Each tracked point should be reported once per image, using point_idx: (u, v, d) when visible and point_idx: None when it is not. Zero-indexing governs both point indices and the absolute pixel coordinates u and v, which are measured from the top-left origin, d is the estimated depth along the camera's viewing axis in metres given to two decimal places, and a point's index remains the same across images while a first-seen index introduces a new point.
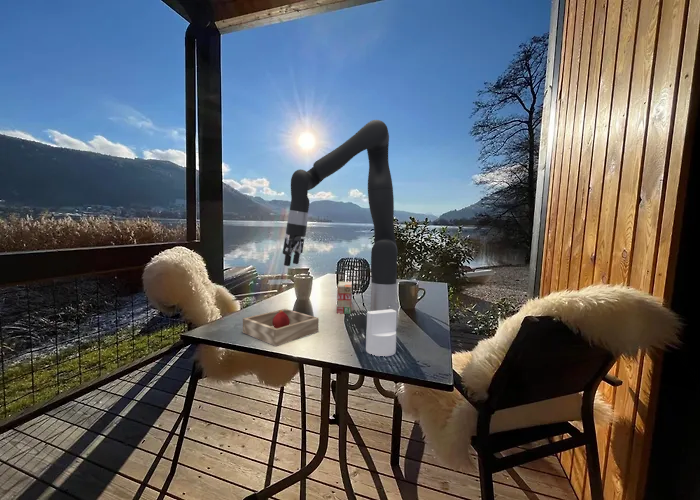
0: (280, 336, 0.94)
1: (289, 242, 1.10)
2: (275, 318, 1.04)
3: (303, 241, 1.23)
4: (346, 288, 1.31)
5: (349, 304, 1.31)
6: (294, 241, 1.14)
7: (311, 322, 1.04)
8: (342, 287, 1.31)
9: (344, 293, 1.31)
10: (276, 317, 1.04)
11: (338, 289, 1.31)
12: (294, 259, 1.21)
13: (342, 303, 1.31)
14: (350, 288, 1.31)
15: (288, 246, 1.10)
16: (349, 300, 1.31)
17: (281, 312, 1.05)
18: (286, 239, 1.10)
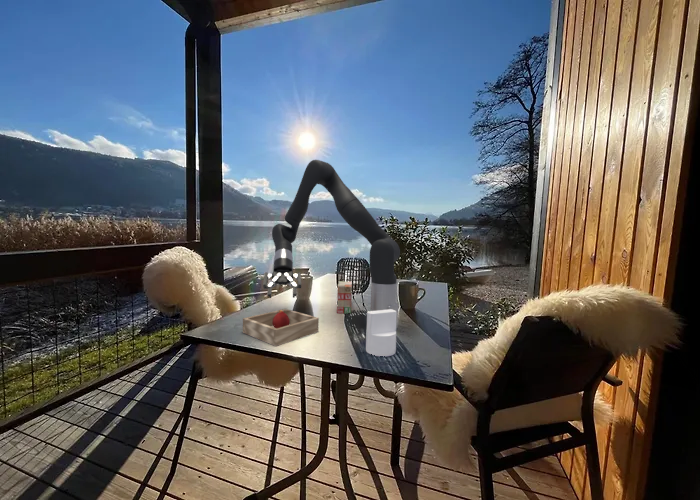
0: (280, 336, 0.94)
1: (264, 275, 1.16)
2: (275, 318, 1.04)
3: (299, 274, 1.18)
4: (346, 288, 1.31)
5: (349, 304, 1.32)
6: (274, 274, 1.17)
7: (311, 322, 1.04)
8: (342, 287, 1.31)
9: (345, 293, 1.31)
10: (276, 317, 1.03)
11: (338, 289, 1.31)
12: None
13: (342, 303, 1.32)
14: (350, 288, 1.31)
15: None
16: (349, 300, 1.32)
17: (281, 312, 1.05)
18: None
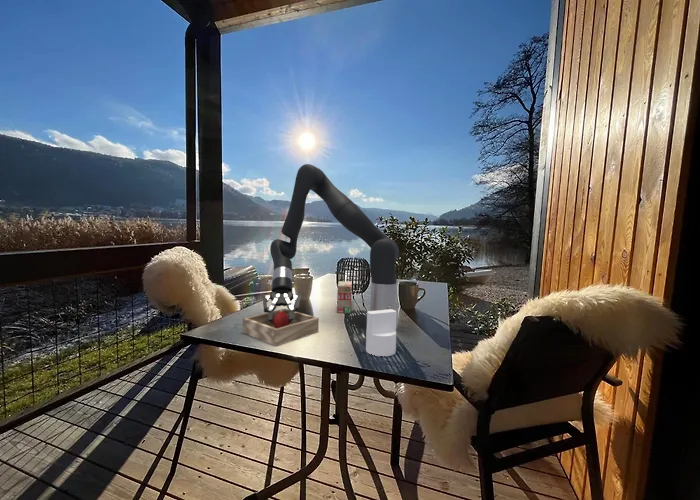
0: (280, 336, 0.94)
1: None
2: (275, 318, 1.04)
3: (299, 296, 1.10)
4: (346, 288, 1.32)
5: (349, 304, 1.32)
6: (273, 295, 1.09)
7: (311, 322, 1.04)
8: (342, 287, 1.32)
9: (345, 293, 1.32)
10: (277, 317, 1.03)
11: (338, 289, 1.32)
12: None
13: (342, 302, 1.32)
14: (350, 288, 1.32)
15: (263, 302, 1.07)
16: (349, 300, 1.32)
17: (281, 312, 1.05)
18: None
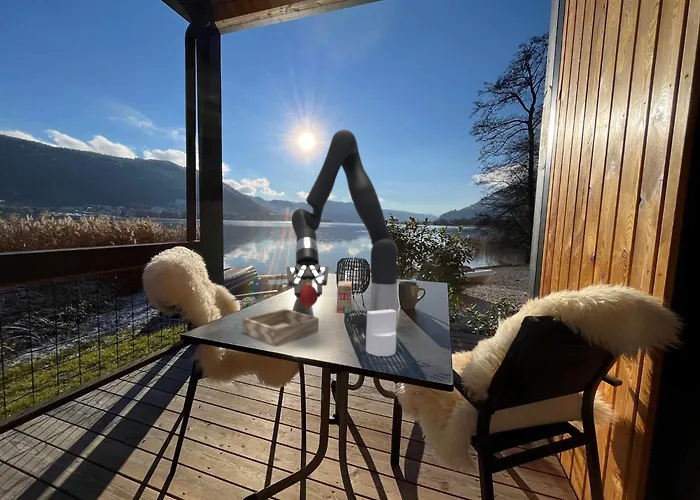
0: (280, 336, 0.94)
1: (286, 271, 0.96)
2: (302, 292, 0.92)
3: (327, 269, 0.98)
4: (346, 288, 1.32)
5: (349, 303, 1.33)
6: (298, 267, 0.97)
7: (311, 322, 1.04)
8: (342, 287, 1.32)
9: (345, 293, 1.32)
10: (304, 291, 0.92)
11: (338, 289, 1.32)
12: (317, 291, 0.94)
13: (342, 302, 1.33)
14: (350, 288, 1.32)
15: (287, 275, 0.95)
16: (349, 299, 1.33)
17: (308, 285, 0.93)
18: (286, 271, 0.98)
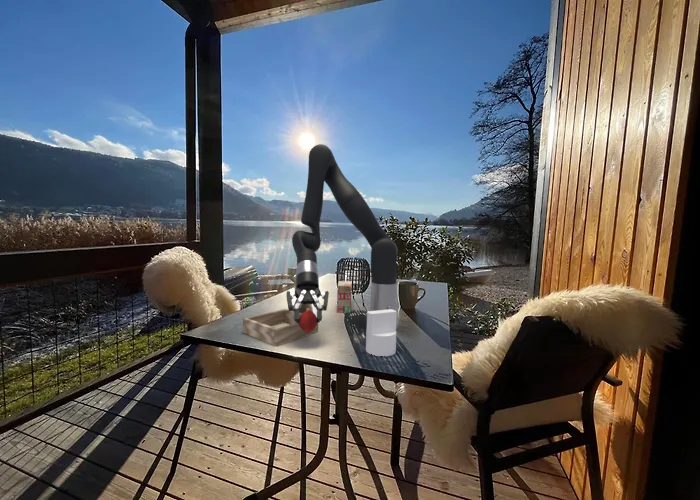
0: (280, 336, 0.94)
1: (286, 295, 0.96)
2: (302, 317, 0.92)
3: (327, 294, 0.98)
4: (346, 287, 1.32)
5: (349, 303, 1.33)
6: (298, 292, 0.97)
7: None
8: (342, 286, 1.32)
9: (344, 292, 1.32)
10: (304, 317, 0.92)
11: (338, 288, 1.32)
12: (317, 317, 0.94)
13: (342, 302, 1.33)
14: (350, 287, 1.32)
15: (287, 299, 0.95)
16: (349, 299, 1.33)
17: (308, 311, 0.93)
18: (286, 295, 0.98)
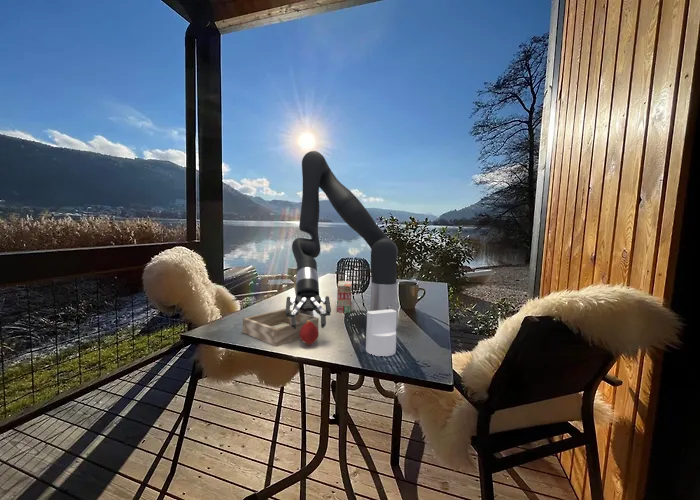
0: (280, 336, 0.94)
1: (286, 301, 0.97)
2: (303, 330, 0.92)
3: (327, 298, 0.99)
4: (346, 287, 1.33)
5: (349, 303, 1.33)
6: (298, 299, 0.97)
7: None
8: (342, 286, 1.33)
9: (344, 292, 1.33)
10: (304, 329, 0.92)
11: (338, 288, 1.33)
12: (321, 322, 0.95)
13: (342, 302, 1.33)
14: (350, 287, 1.33)
15: (286, 305, 0.96)
16: (349, 299, 1.33)
17: (309, 323, 0.93)
18: None
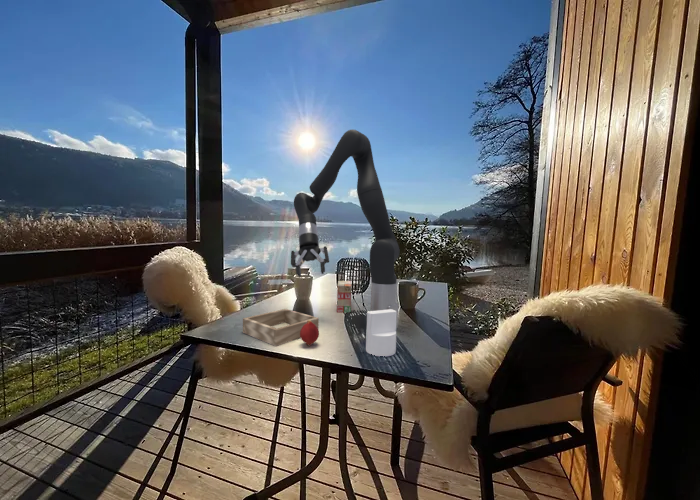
0: (280, 336, 0.94)
1: (291, 254, 1.15)
2: (303, 329, 0.92)
3: (325, 248, 1.15)
4: (346, 287, 1.33)
5: (349, 303, 1.34)
6: (301, 251, 1.15)
7: None
8: (342, 286, 1.33)
9: (344, 292, 1.33)
10: (305, 329, 0.92)
11: (338, 288, 1.33)
12: None
13: (342, 302, 1.33)
14: (350, 287, 1.33)
15: None
16: (349, 299, 1.33)
17: (310, 323, 0.93)
18: None
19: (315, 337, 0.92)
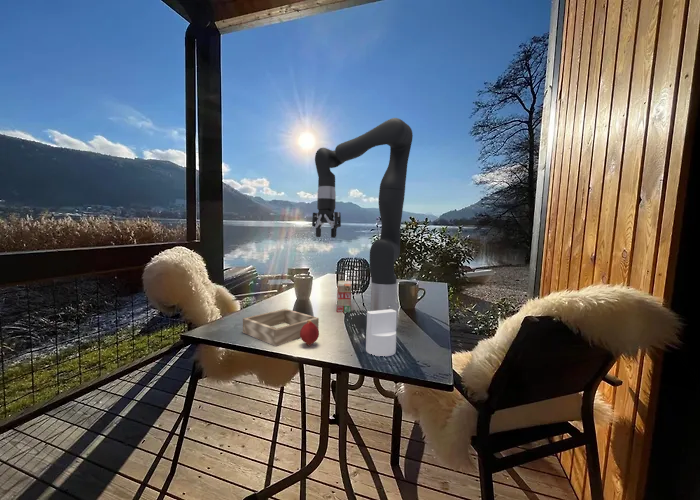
0: (280, 336, 0.94)
1: None
2: (303, 329, 0.92)
3: (335, 214, 1.21)
4: (346, 287, 1.33)
5: (349, 303, 1.34)
6: (319, 214, 1.27)
7: None
8: (342, 286, 1.33)
9: (344, 292, 1.33)
10: (305, 329, 0.92)
11: (338, 288, 1.33)
12: None
13: (342, 302, 1.34)
14: (350, 287, 1.33)
15: None
16: (349, 299, 1.34)
17: (310, 323, 0.93)
18: None
19: (315, 337, 0.92)
